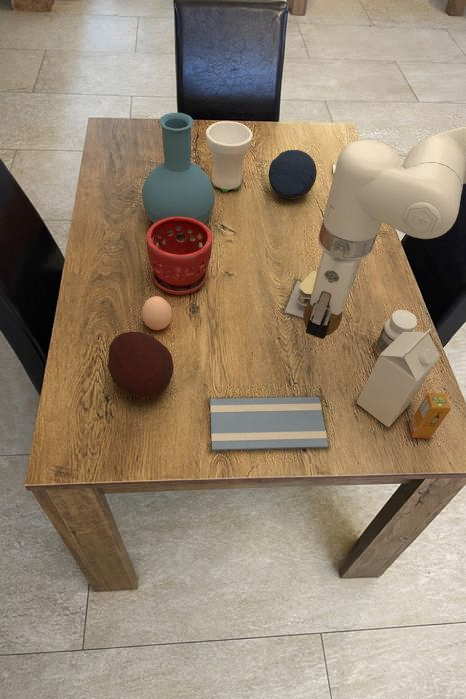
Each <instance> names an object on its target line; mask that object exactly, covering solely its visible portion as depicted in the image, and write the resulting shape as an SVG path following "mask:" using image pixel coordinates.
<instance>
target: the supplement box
mask: <svg viewBox="0 0 466 699" xmlns="http://www.w3.org/2000/svg"><path fill="white" fill-rule="evenodd" d="M451 410H452V407H451V405H450V402H449V399H448V396H447V394H446V393H443V392H440V393H439V392H427V393H426V395H425V396H424V398H423V399H422V401H421V403H420V404H419V406H418V408H417V409H416V411H415V412H414V414H413V415H412V417H411V419H410V421H409V423H408V425H409V429H410V434H411V438H412V439H427V440H429V439H431V438H432V437H433V435H434V434H435V432H436V431H437V429H438V428H439V427H440V426H441V424H442V422H443V421H444V420H445V419H446V417H447V415H448V414H449V412H450V411H451Z"/></svg>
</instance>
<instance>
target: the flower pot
mask: <svg viewBox="0 0 466 699" xmlns="http://www.w3.org/2000/svg"><path fill="white" fill-rule="evenodd" d="M178 226H180V227H181V228H180V229H177V228H176V227H178ZM189 229H190V230H192V232H189V231H188V230H189ZM170 230H171V231H173V232H172V234H171V233H168V231H170ZM179 233H182V234H183V236H185V239H184V240H179V239H178V238H177V236H178V235H177V234H179ZM199 235H200V237H199ZM191 237H193V238H194V240H192V239H191ZM152 239H153V240H152ZM164 241H165V242H164ZM200 243H201V245H200ZM146 250H147V256H148V261H149V264H150V266H151V268H152V274H151V275H152V279H153V281H154V283H155V285H156V286H157V287H158V288H159V289H160V290H162V291H164V292H165V293H167V294H172V295H189V294H192V293H195V292H196V291H198V290H199V289H200V288H202V286H204V284H205V282H206V281H207V278H208V277H207V275H208V273H207V272H208V271H207V270H208V267H209V264H210V261H211V256H212V250H213V234H212V231H211V230H210V229H209V227H208V226H207V225H206V224H203V223H202V222H200V221H197V220H195V219H192V218H188V217H169V218H165V219H162V220H160V221H158V222H156V223H155V224H154V223H153V224H152V225H151V226H150V227H149V228H148V231H147V232H146Z"/></svg>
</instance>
